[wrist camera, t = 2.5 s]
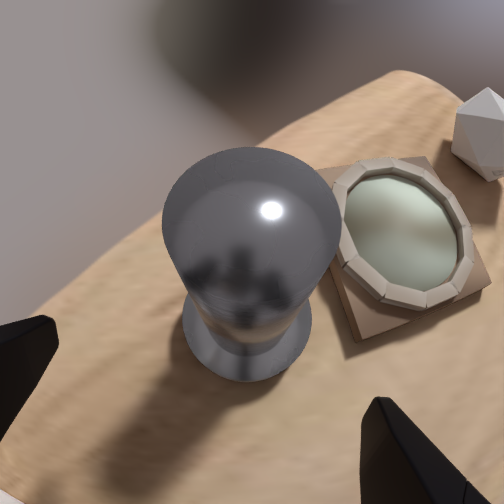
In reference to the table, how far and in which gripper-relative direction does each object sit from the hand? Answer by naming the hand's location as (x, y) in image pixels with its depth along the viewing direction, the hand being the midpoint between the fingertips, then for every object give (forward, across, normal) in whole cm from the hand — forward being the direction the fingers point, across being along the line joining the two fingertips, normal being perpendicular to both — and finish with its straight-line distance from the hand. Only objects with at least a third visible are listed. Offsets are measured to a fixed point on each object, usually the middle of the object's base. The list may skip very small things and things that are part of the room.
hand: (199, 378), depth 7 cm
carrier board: (+16, -10, -1) cm, 19 cm away
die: (+24, -20, -9) cm, 33 cm away
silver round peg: (+10, 0, +4) cm, 11 cm away
